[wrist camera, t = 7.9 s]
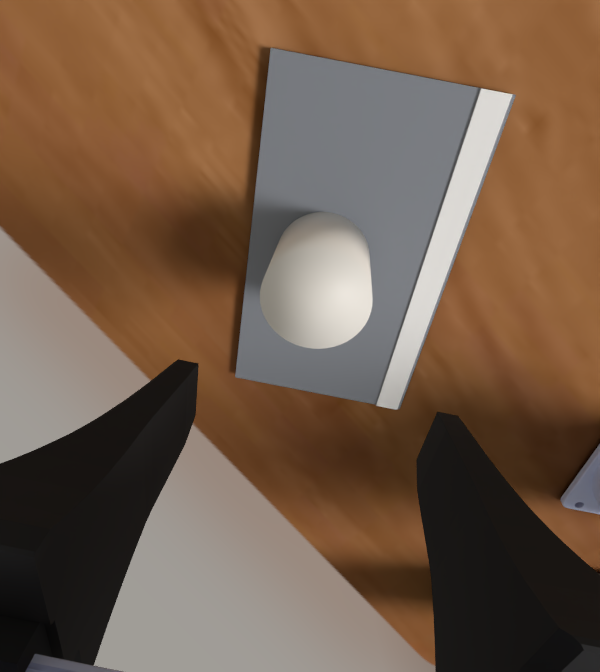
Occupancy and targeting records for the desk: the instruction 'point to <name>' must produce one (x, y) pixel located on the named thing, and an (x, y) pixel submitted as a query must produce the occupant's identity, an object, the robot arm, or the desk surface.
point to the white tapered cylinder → (318, 282)
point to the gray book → (366, 208)
